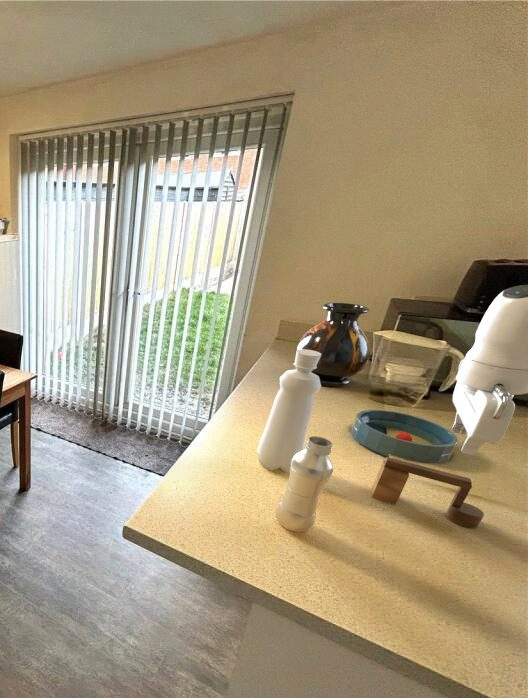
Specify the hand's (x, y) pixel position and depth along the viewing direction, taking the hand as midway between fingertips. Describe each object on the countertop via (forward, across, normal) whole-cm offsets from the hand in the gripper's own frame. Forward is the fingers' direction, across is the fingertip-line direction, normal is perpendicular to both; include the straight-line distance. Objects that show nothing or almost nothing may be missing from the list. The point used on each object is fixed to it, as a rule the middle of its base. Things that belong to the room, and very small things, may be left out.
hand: (462, 441), depth 76 cm
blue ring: (+17, +29, +4) cm, 34 cm away
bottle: (+17, -1, +28) cm, 33 cm away
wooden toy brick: (+17, 0, +7) cm, 18 cm away
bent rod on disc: (+17, 0, +1) cm, 17 cm away
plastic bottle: (+17, -23, +22) cm, 36 cm away
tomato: (+15, +29, +3) cm, 33 cm away
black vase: (+17, +73, +23) cm, 78 cm away
